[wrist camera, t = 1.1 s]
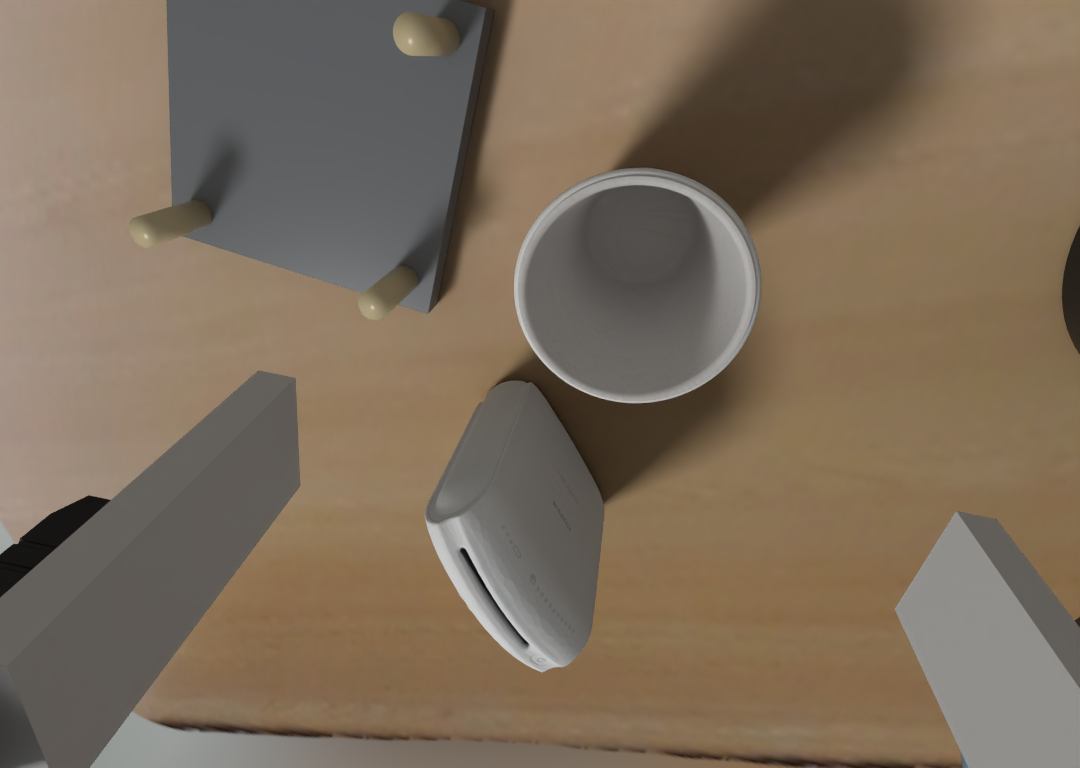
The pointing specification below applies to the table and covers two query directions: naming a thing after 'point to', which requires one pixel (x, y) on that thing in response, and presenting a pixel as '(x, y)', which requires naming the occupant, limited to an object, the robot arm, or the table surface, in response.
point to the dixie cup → (637, 285)
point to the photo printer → (521, 527)
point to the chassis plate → (323, 137)
